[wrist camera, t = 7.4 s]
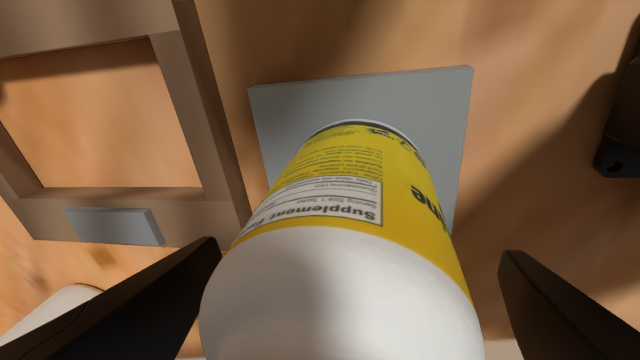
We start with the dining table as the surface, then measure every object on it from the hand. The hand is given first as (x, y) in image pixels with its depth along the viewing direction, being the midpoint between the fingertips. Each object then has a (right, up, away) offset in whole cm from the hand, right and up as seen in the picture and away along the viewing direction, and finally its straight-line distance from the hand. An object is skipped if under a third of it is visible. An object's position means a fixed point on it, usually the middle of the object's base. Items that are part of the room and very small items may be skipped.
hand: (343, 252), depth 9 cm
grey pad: (+1, +3, +5) cm, 6 cm away
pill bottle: (+1, +2, +4) cm, 5 cm away
